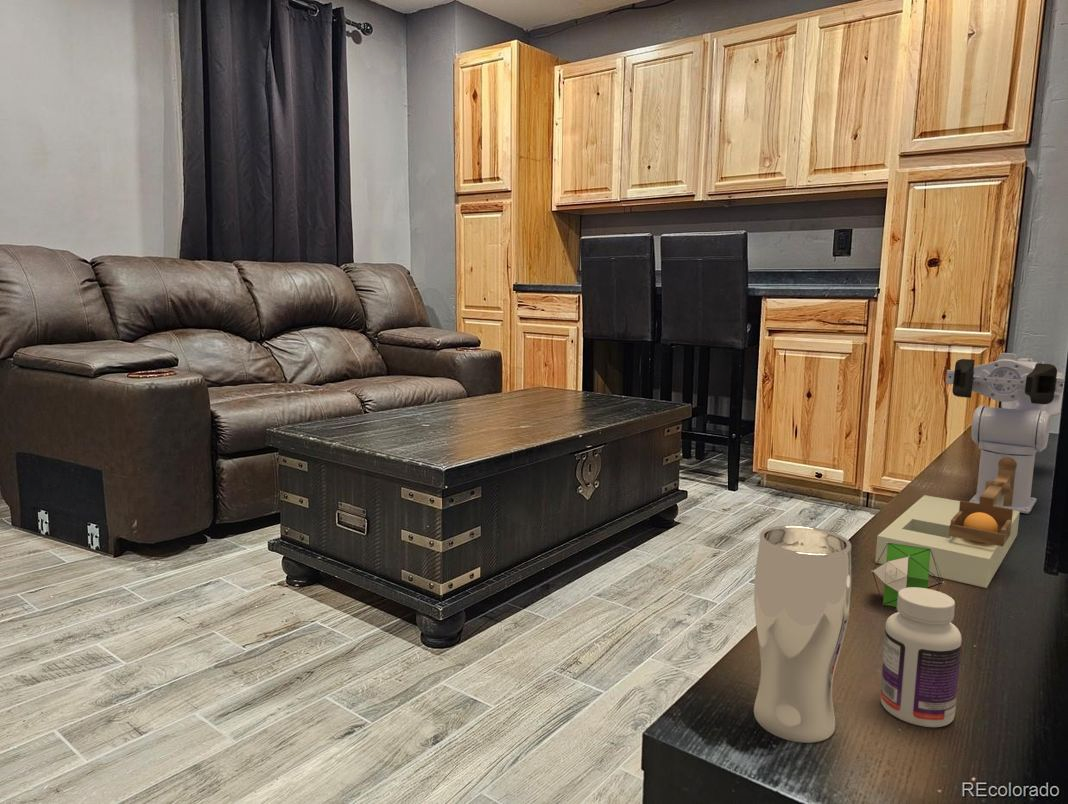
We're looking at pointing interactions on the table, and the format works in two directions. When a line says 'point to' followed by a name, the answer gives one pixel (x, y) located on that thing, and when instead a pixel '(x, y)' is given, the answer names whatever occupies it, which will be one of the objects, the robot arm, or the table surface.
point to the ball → (981, 522)
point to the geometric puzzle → (904, 570)
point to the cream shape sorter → (946, 541)
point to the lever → (989, 508)
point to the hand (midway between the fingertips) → (994, 382)
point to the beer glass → (800, 628)
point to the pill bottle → (921, 659)
